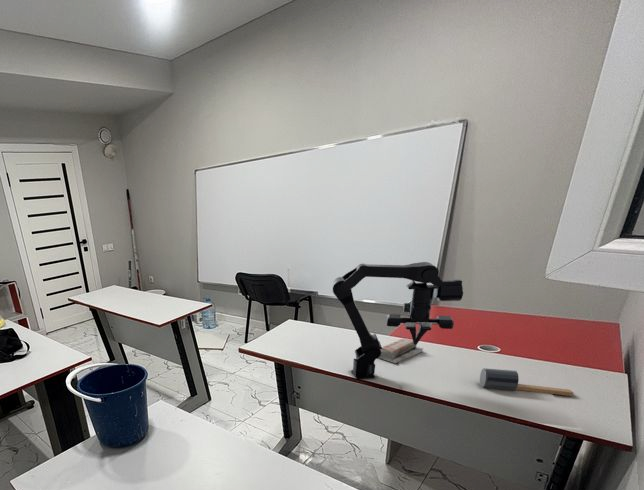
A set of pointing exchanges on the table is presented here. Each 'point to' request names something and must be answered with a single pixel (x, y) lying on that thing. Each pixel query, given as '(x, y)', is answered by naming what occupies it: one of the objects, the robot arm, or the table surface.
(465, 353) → the table surface
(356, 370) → the robot arm
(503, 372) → the grey cylinder
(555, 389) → the wooden stick
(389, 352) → the packaged product
